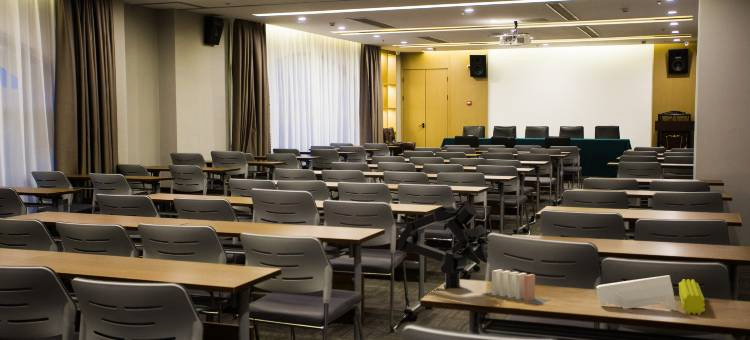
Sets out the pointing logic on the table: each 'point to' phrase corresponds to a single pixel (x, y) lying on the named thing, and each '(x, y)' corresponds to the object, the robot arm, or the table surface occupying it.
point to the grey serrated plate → (536, 300)
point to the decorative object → (691, 297)
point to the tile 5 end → (529, 287)
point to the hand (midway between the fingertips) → (482, 262)
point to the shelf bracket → (638, 292)
